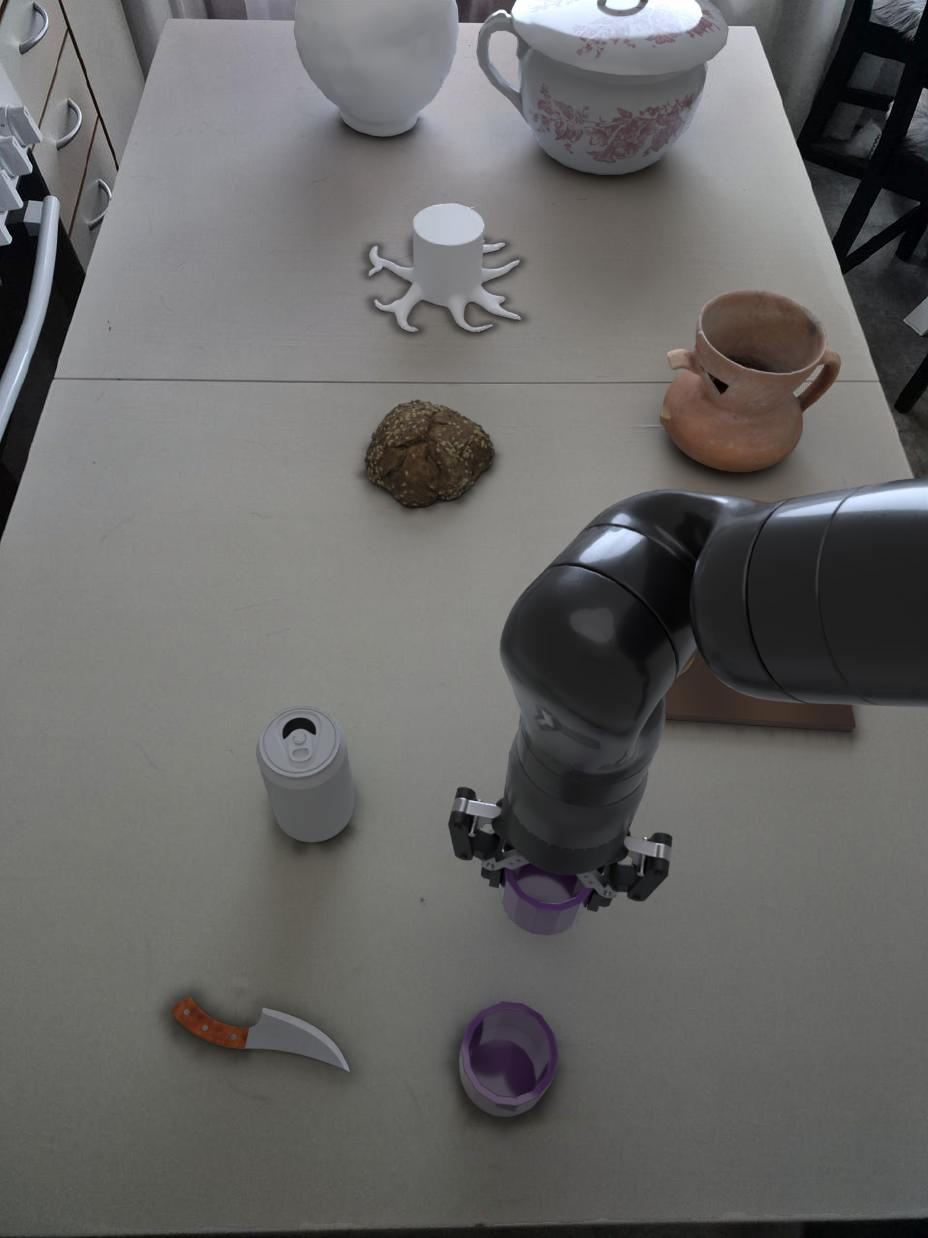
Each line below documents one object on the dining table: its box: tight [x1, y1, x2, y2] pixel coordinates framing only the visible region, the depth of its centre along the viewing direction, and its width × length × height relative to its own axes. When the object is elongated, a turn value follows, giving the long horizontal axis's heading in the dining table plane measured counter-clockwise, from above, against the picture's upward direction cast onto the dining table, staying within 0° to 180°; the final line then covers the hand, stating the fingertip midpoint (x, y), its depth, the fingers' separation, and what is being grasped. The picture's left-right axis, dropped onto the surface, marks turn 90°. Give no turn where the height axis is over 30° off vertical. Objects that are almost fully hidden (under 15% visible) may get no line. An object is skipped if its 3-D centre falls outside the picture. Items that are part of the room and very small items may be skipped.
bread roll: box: [364, 398, 496, 508], centre depth 97 cm, size 13×12×5 cm
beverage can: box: [255, 704, 356, 843], centre depth 72 cm, size 6×6×12 cm
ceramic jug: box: [659, 288, 842, 473], centre depth 97 cm, size 18×14×14 cm
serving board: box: [665, 651, 856, 732], centre depth 87 cm, size 22×14×1 cm, turn 87°
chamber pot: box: [475, 0, 730, 176], centre depth 126 cm, size 28×28×21 cm
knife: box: [170, 997, 351, 1073], centre depth 67 cm, size 13×1×3 cm
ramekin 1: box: [499, 863, 594, 936], centre depth 66 cm, size 6×6×5 cm
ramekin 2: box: [458, 1000, 559, 1118], centre depth 65 cm, size 6×6×5 cm
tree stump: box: [368, 201, 521, 333], centre depth 113 cm, size 20×19×8 cm
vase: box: [293, 0, 460, 138], centre depth 124 cm, size 19×21×30 cm
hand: (545, 886), depth 67 cm, fingers closed on ramekin 1, 6 cm apart
